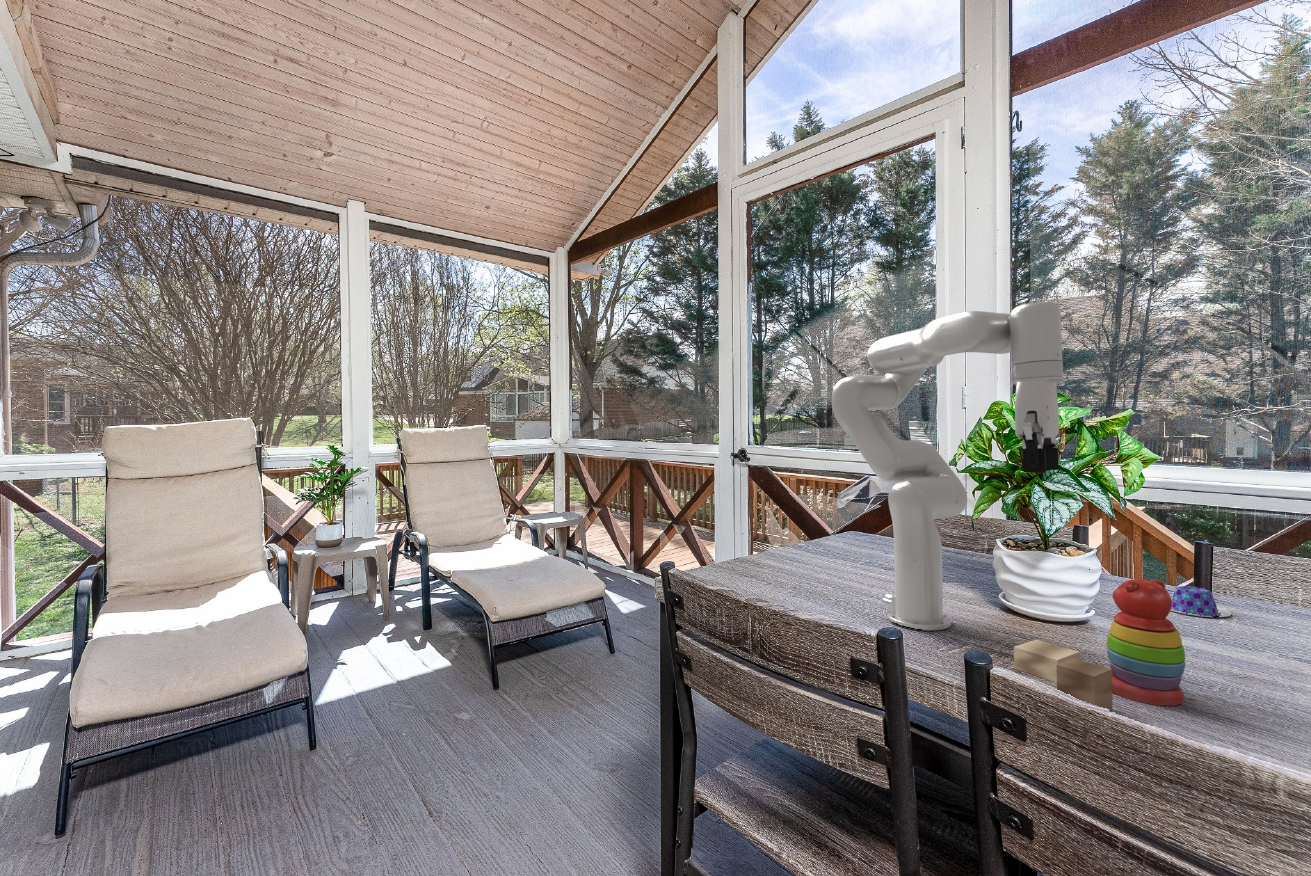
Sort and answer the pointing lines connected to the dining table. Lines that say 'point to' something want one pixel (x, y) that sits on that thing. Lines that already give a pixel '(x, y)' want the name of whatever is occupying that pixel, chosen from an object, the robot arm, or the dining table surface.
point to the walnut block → (1086, 682)
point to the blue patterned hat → (1195, 601)
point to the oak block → (1042, 658)
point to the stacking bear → (1145, 645)
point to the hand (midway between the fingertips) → (1041, 471)
